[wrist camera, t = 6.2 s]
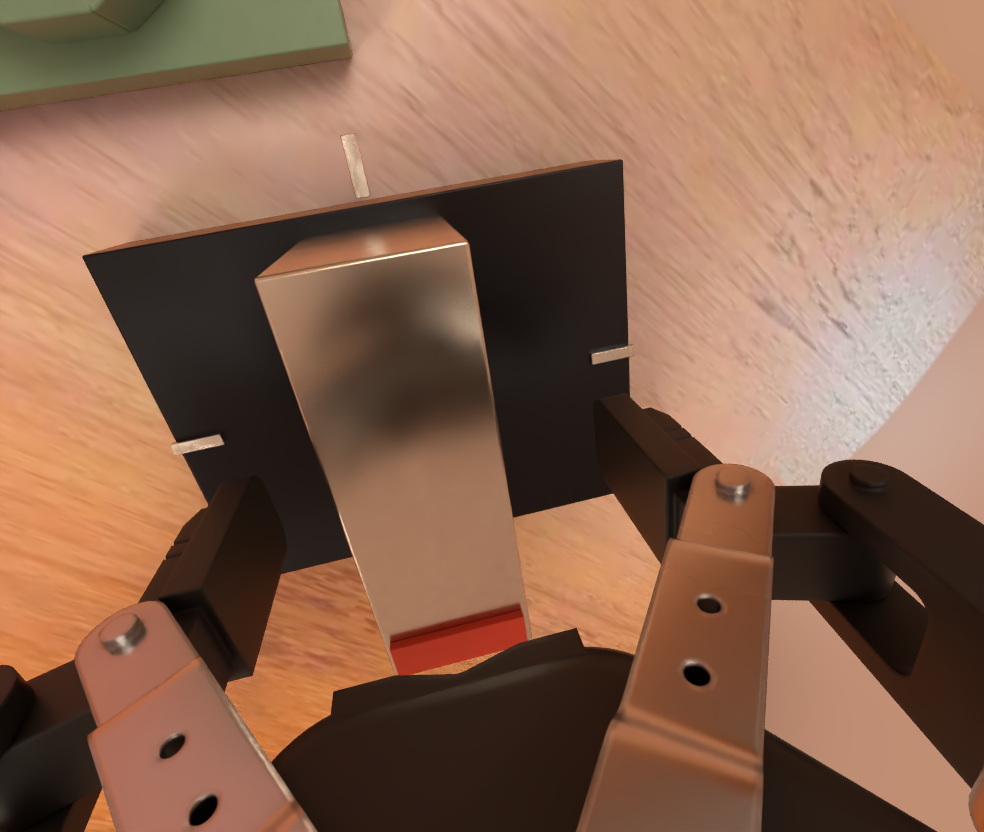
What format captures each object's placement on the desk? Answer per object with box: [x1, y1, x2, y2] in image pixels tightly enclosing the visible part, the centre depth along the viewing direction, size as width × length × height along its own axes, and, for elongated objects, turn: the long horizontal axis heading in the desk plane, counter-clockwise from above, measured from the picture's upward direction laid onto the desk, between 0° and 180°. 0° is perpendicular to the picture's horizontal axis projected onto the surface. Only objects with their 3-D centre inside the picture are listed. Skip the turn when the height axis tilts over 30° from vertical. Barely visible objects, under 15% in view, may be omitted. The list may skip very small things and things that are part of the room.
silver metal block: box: [254, 214, 532, 675], centre depth 13 cm, size 10×4×6 cm, turn 9°
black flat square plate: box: [82, 134, 634, 574], centre depth 17 cm, size 14×14×3 cm
